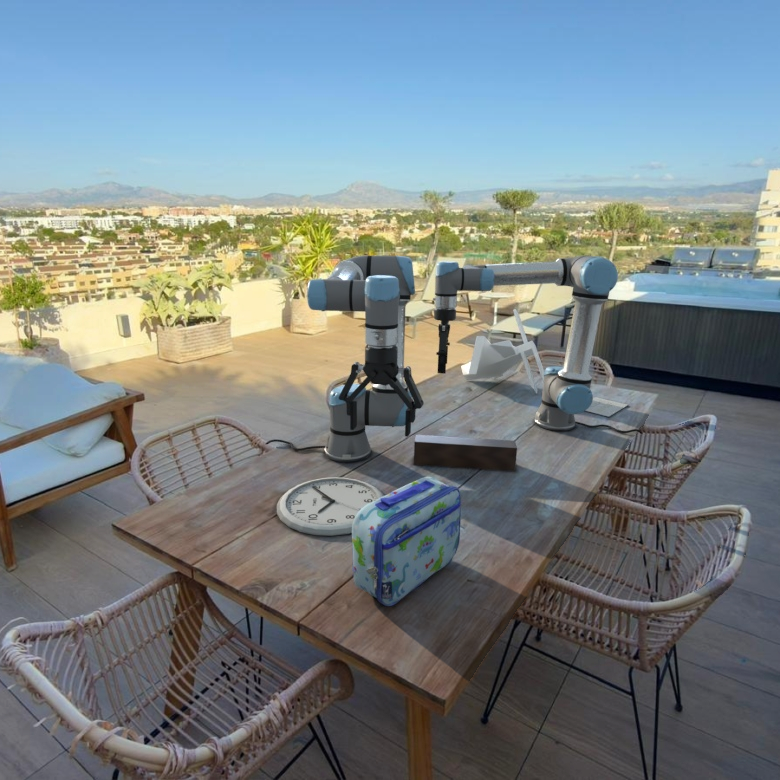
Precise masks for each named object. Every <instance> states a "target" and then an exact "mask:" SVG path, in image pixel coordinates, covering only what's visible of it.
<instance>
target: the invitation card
mask: <svg viewBox="0 0 780 780" xmlns="http://www.w3.org/2000/svg"><path fill="white" fill-rule="evenodd" d="M628 406H629V404H627V403H623V402H618V401H614V400H609V399H605V398H601V397H596V396H593V401H592V404H591V405H590V407H589V408H588V409H587V410H585V411H584V412H587V413H593V414H596V415H600V416H604V417H608V418H609V417H611V416H613V415H614V414H616V413H617V412H619V411H621V410H623V409H624V408H626V407H628Z"/></svg>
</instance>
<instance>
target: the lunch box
mask: <svg viewBox="0 0 780 780" xmlns="http://www.w3.org/2000/svg"><path fill="white" fill-rule="evenodd" d="M461 499H462V497H461V491H460V489H459V488H458V487H457V486H455V485H450V486H449V485H447V484H445V483H444V482H442V481H440V480H438V479H436V478H434V477H432V476H424V477H421V478H419V479H416V480H414V481H412V482H410V483H407V484H405V485H404V486H401V487H399V488H397V489H395V490H392V491H391V492H390V493H386V494H384V496H383V497H381V498H379V499H377V500H375V501H373V502H371V503H369V504H367V505H365V506H364V507H362V508H361V509H360V510H359V512H358V513H357V515H356V516H355V518H354V521H353V526H352V533H351V550H352V576H353V581H354V584H355V587H356V588H358V589H360V590H362V591H364V592H366V593H368V594H370V596H372V597H374V598H375V599H377V601H378V603H379V604H382V605H383V606H385V607H393V606H394V605H396V604H397V603H399V602H400V601H402V599H404V598H405V597H406V596H407V595H409V594H410V593H411V592H413V591H414V590H415V589H416V588H418V587H419V586H420V585H422V584H423V583H424V582H425V581H427V580H428V579H429V578H430V577H432V575H434V574H435V573H437V572H439V571H441V570H442V569H443V568H445V567H446V566H448V565H449V564H450V562H452V560H453V559H454V557H455V555H456V553H457V551H458V549H459V544H460V537H461V519H462V515H461V513H462V512H461V510H462V507H461V505H462V504H461V503H462V502H461Z"/></svg>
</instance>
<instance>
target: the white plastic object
mask: <svg viewBox="0 0 780 780" xmlns="http://www.w3.org/2000/svg"><path fill="white" fill-rule="evenodd" d="M512 312H513V314H514V318H515V321H516V323H517V327H518V330H519V332H520V337H521V339H522V342H523V343H522V344H519V345H517V346H516V345H513V343H512V341H511V339H507V340H502V341H498V342H493V343H491V341H489V339H488V338H487V337H486V336H485V335H476V336H475V341H474V347H473V350H472V355H471V360H470V361H469V362H467V363H465V364H463V365H461V366H460V367H461V372H462V376H463V377H464V378H465V380H466V381H473V380H482V379H483V380H484V379H490V378H491V379H494V380H495V379H498V378H501V377H504V373H506V372H507V371H509V370H510V369H512V368H513V367H514V366H516V365H518V364H519V363H520V362H521V361H522V362H523V366H524V369H525V371H526V374H527V377H528V381H529V384H530V387H531V388H532V390H533V392H534V393H535V394H538V388H537V385H536V382H535V378H534V375H533V372H532V369H531V366H530V362H529V360H528V357H531V356H534V359H535V363H536V365H537V369H538V370H539V374H540V377H541V380H542V383H543V382H544V374H545V369H544V366H543V364H542V361H541V357H540V353H539V352H538V348H537V346H536V344H535V342H534V341H533V340H528V337H527V334H526V331H525V329H524V326H523V322H522V319H521V316H520V314H519V312H518V310H517V309H516V308H514V309H512Z"/></svg>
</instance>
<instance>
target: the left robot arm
mask: <svg viewBox="0 0 780 780" xmlns="http://www.w3.org/2000/svg"><path fill="white" fill-rule="evenodd" d="M413 266H414V264H413V260H412V259H411V258H410V256H402V255H368V254H367V255H364V254H363V255H356V256H353V257H350V258H347V259H345V260H342V261H340V262H338V263H337V264H336V265H335V267H334V268H333V270H332V272H331V274H330V275H329V276H328V277H327V278H313V279H310V280H309V281H308V283H307V286H306V287H307V288H306V301H307V306H308V308H309V309H310V310H312V311H321V312H360V313H361V312H363V313H364V317H365V323H364V343H365V344H366V345H365V346H364V364H361V363H360V362H359V361H355V362H354V363H353V364H351V369H350V374H349V376H348V378H347V380H346V382H345V384H343V385H339V386H336V387H334V388H333V389H332V390H331V391H330V393H329V402H328V405H329V435H328V437H327V440H326V443H325V445H312V446H306V447H300V448H299V447H298V448H297V447H295V446H294V444H293V443H292V442H291V441H287V440H284V439H270V440H268V441H267V442H265V445H269V444H271V443H274V442H275V443H276V442H278V443H283V444H287V445H290V446H291V447H290V448H291V449H292V450H293V451H296V452H302V451H306V450H311V449H324V455H325V457H326V458H327V459H329V460H331V461H334V462H338V463H357V462H361V461H363V460H365V459H367V458H370V455H371V451H372V450H371V449H372V447H371V444H370V442H369V438H368V435H367V433H366V426H369V427H391V428H394V427H404V437H407V438H408V437H409V436H410V435H411V432H412V424H413V423H415V420H416V413H417V411H416V410H419V409H422V407H423V406H424V405H425V403H424V400H423V398H422V395H421V393H420V392H419V391H420V390H419V389H418V386H417V385H416V382H415V380H414V378H413V375H412V368H411V366H406V367H405V340H406V339H405V338H406V337H405V335H406V306H407V305H408V304H409V303H410V302H411V296H414V295H416V287H415V286H416V285H415V276H414V267H413ZM362 371H363V373H364V374H365V376H366V377H365V378H364V379H363V380H362V382H361V383H355V381H356V379H357V377H358V375H359V374H360V373H361V372H362ZM370 383H371V384H372V386H371V389H367V386H368V385H369V384H370Z"/></svg>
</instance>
